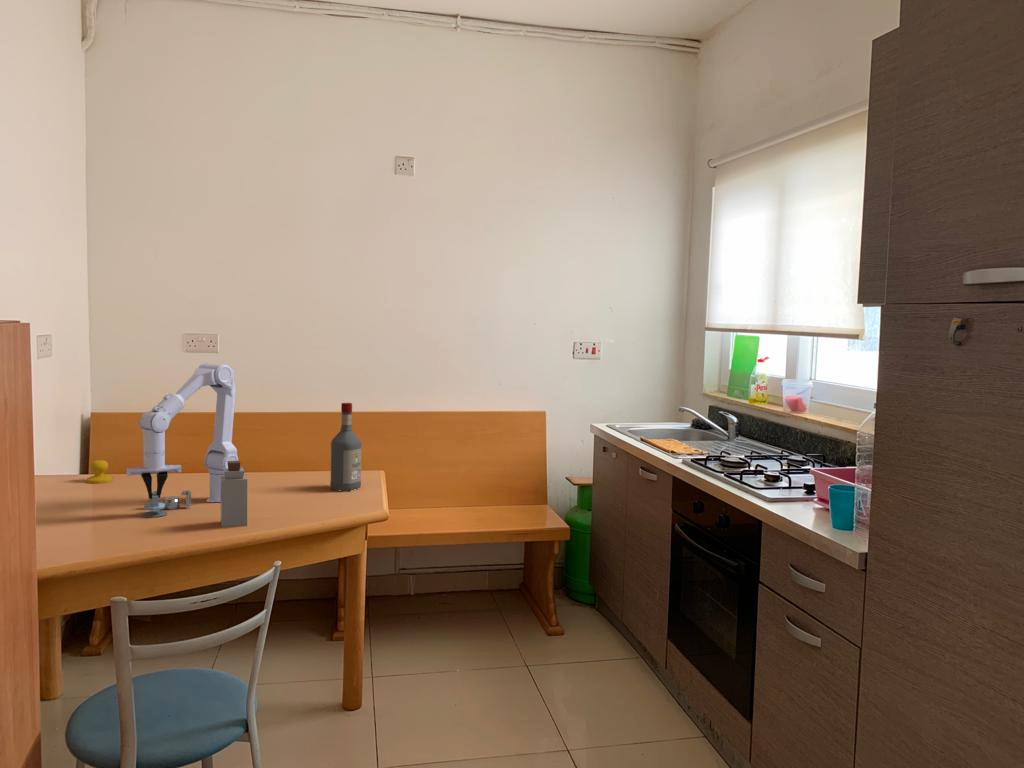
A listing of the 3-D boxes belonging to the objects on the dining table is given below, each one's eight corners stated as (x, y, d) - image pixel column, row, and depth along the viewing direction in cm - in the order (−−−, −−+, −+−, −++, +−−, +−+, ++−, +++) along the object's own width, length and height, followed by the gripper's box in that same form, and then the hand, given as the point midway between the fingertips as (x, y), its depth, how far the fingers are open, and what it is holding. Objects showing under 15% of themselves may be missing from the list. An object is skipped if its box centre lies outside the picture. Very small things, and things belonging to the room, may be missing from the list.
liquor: (364, 487, 278) (365, 403, 275) (347, 492, 269) (348, 405, 267) (343, 484, 282) (344, 401, 279) (326, 489, 274) (327, 403, 271)
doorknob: (117, 480, 277) (96, 484, 270) (102, 478, 280) (81, 482, 273) (117, 459, 276) (96, 463, 269) (101, 457, 280) (81, 460, 273)
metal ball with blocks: (191, 505, 245) (191, 489, 245) (188, 509, 240) (188, 493, 240) (154, 506, 243) (154, 490, 243) (150, 510, 238) (150, 494, 238)
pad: (170, 511, 238) (170, 510, 238) (164, 517, 231) (164, 516, 231) (145, 511, 236) (145, 510, 236) (138, 517, 229) (138, 516, 229)
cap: (166, 510, 231) (166, 496, 231) (145, 512, 228) (145, 498, 228) (162, 504, 238) (162, 491, 238) (142, 506, 235) (142, 492, 235)
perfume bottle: (220, 521, 228) (220, 460, 227) (245, 519, 231) (245, 459, 229) (221, 527, 222) (221, 464, 220) (247, 525, 225) (247, 463, 223)
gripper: (178, 448, 239) (178, 492, 240) (125, 451, 231) (125, 497, 233) (182, 452, 233) (182, 497, 234) (128, 455, 225) (128, 502, 227)
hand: (154, 497), depth 233 cm, fingers closed on cap, 2 cm apart
